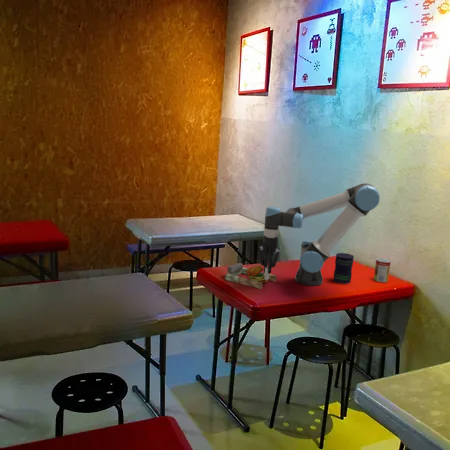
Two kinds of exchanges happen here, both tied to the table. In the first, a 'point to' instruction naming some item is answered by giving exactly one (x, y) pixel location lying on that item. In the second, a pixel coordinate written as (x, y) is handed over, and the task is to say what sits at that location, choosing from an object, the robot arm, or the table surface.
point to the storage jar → (343, 268)
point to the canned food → (382, 270)
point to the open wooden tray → (239, 269)
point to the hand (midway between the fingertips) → (266, 278)
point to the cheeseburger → (256, 274)
